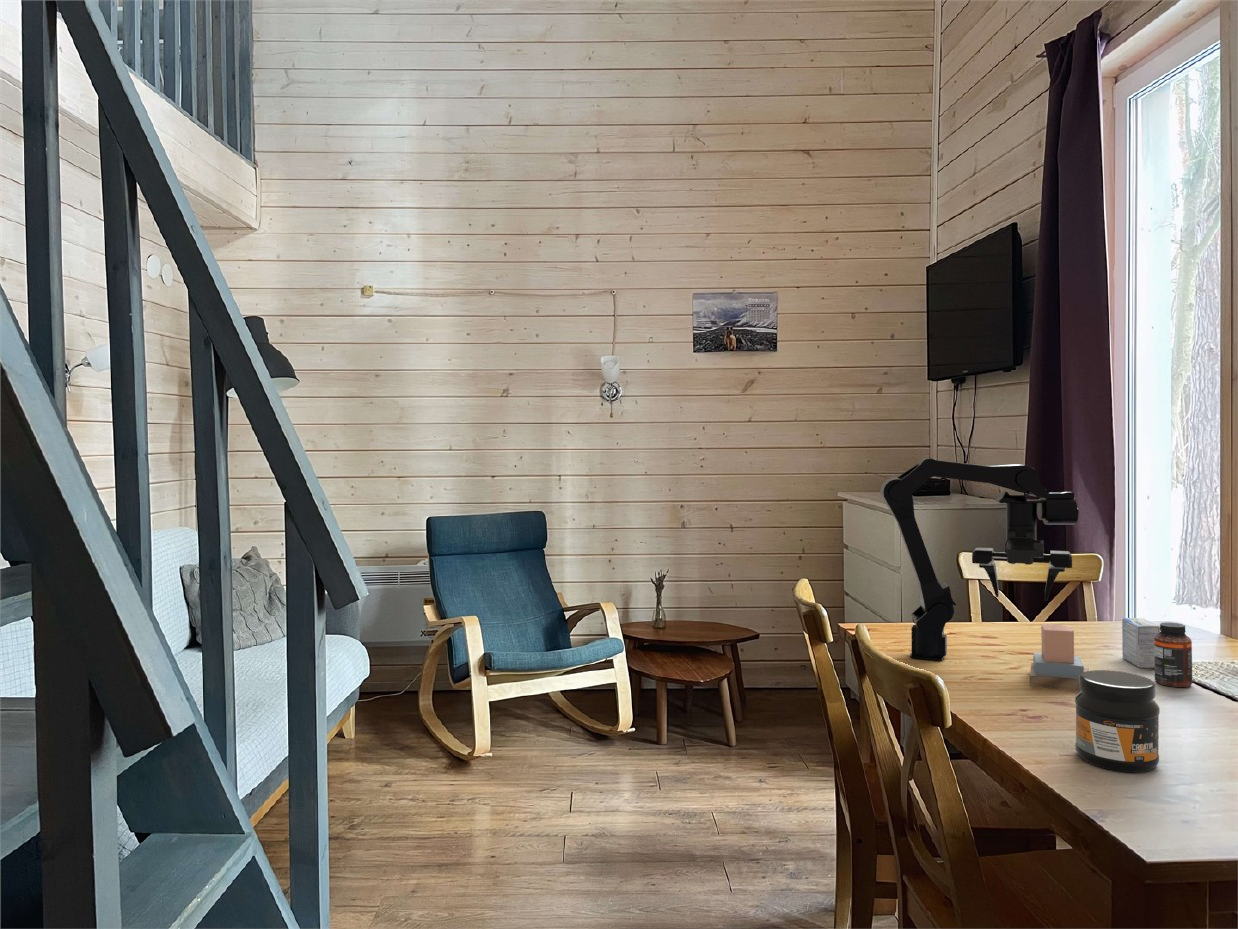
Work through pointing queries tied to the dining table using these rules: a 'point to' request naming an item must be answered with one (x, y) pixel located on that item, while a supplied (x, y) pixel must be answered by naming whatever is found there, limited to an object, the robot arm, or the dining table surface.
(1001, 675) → the dining table surface
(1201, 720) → the dining table surface
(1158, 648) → the supplement bottle
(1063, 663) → the slate slab
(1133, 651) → the medicine box
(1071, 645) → the terracotta block
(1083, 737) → the supplement container
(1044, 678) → the walnut slab
